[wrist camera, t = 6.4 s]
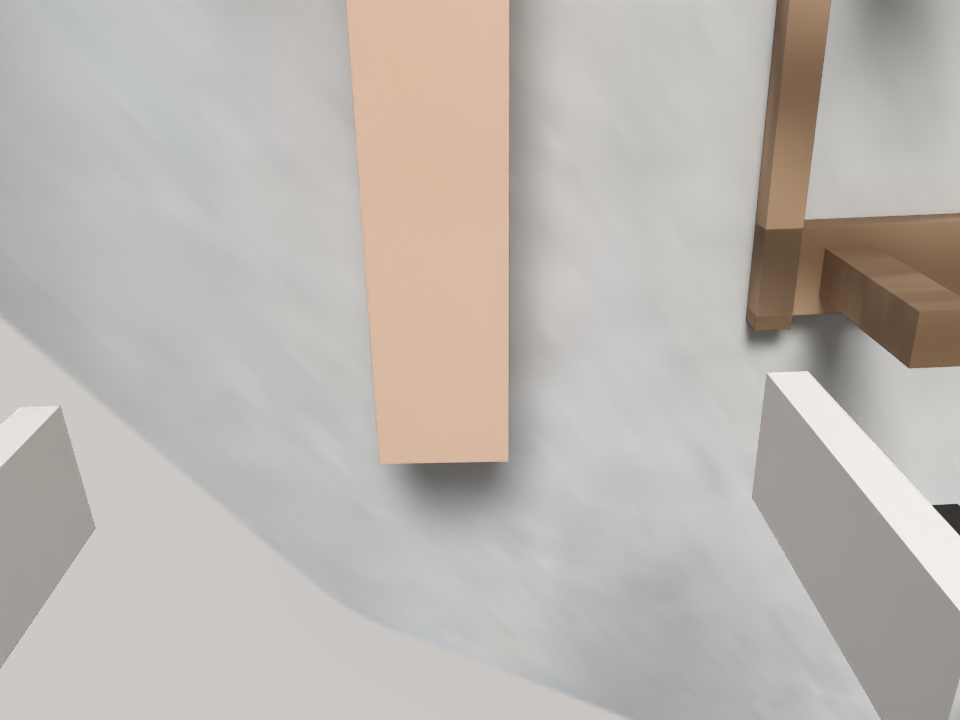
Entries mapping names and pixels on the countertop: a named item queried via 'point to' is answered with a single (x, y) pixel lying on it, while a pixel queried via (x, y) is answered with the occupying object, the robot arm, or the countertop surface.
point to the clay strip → (435, 222)
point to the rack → (842, 227)
